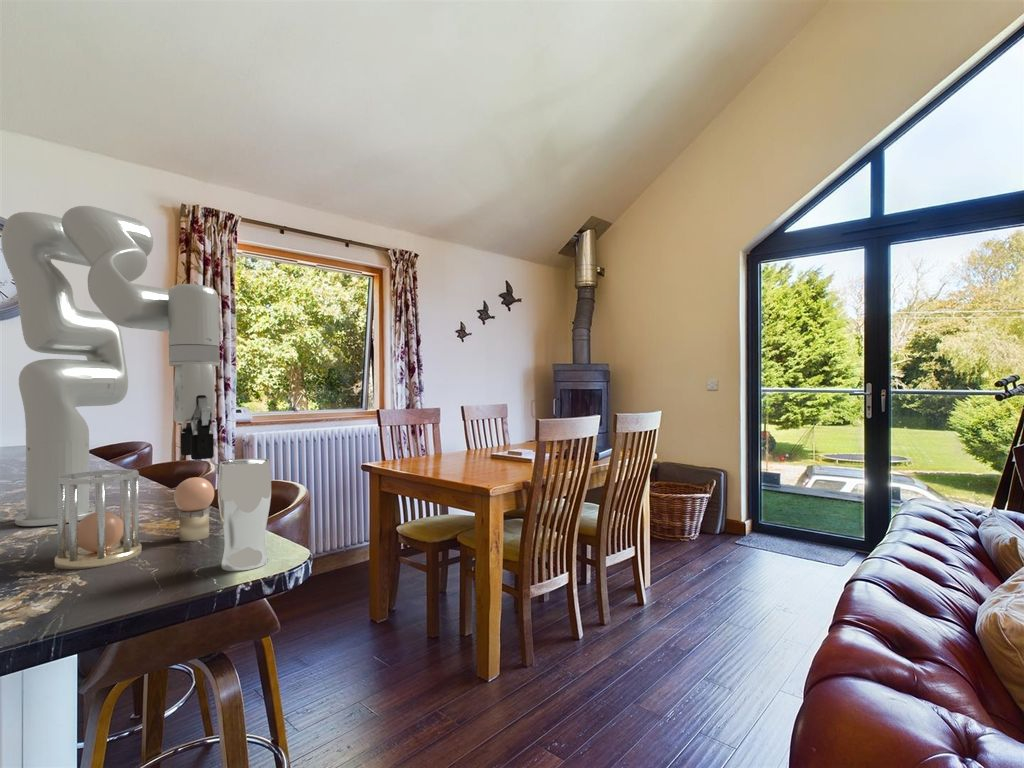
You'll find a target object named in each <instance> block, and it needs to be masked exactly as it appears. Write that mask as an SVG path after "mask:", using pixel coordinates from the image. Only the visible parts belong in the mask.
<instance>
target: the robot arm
mask: <svg viewBox="0 0 1024 768" xmlns="http://www.w3.org/2000/svg"><path fill="white" fill-rule="evenodd" d="M0 242H1V243H0V244H1V250H2V255H3V258H4V260H5V263H6V265H7V268H8V271H9V272H10V274H11V277H12V280H13V281H14V284H15V285H14V286H15V289H16V295H17V303H18V311H19V317H20V322H21V323H20V324H21V330H22V336H23V340H24V343H25V344H26V347H28V348H29V349H30V350H31V351H34V352H37V353H41V354H48V355H49V354H51V355H52V354H53V355H65V356H66V355H67V356H70V355H71V356H84V357H85V358H86V360H85V359H82V360H81V359H69V358H67V359H64V358H46V359H39V360H38V359H37V360H34V361H32V362H29V363H28V364H26V365H25V366H24V367H23V368H22V369H21V371H20V372H19V377H18V387H19V392H20V397H21V400H22V401H21V402H22V406H23V411H24V419H25V420H24V421H25V513H23V514H20V515H18V516H16V517H15V518H14V524H15V525H16V526H18V527H19V526H20V527H41V526H42V527H45V526H54V525H58V482H59V476H63V475H67V474H73V473H80V472H87V471H90V429H89V425H88V423H87V422H86V420H85V418H84V417H83V416H82V415H81V413H80V412H79V411H78V409H77V408H78V407H79V408H81V407H102V406H103V407H105V406H113V405H116V404H119V403H120V402H122V401H123V400H125V397H126V396H127V393H128V388H129V377H128V375H129V374H128V368H127V364H126V357H125V356H126V355H125V349H124V342H123V338H122V337H123V336H122V332H121V329H120V327H123V328H127V329H138V330H149V331H157V332H163V333H167V332H168V365H169V366H170V367H175V371H174V383H173V421H174V422H175V423H177V424H181V426H180V431H181V432H180V454H181V456H182V457H183V456H190V458H191V460H193V461H197V460H208V459H209V460H210V459H213V458H214V455H215V453H214V450H215V449H214V448H215V447H214V445H215V444H214V433H213V432H214V428H213V424H212V423H213V421H214V420H215V418H216V416H215V415H216V392H215V390H216V388H215V375H214V374H215V373H214V372H215V371H214V367H220V365H221V362H220V361H221V360H220V359H221V358H220V356H221V355H220V353H221V352H220V311H219V310H220V309H219V308H220V307H219V305H220V304H219V302H220V301H219V295H218V292H217V291H216V290H215V288H213V287H210V286H208V285H203V284H197V283H196V284H194V283H193V284H192V283H180V284H175V285H173V286H171V287H170V288H169V289H166V288H161V287H155V286H150V285H145V284H139V283H133V281H135V280H137V279H138V278H140V277H141V276H142V275H143V274H144V273H145V271H146V269H147V266H148V256H149V255H150V254H151V253H152V251H153V247H154V238H153V234H152V232H151V230H150V229H149V227H148V226H147V224H146V223H144V222H143V221H141V220H139V219H137V218H136V217H135V218H134V217H131V216H128V215H124V214H121V213H117V212H114V211H111V210H107V209H104V208H101V207H96V206H91V205H78V206H74V207H71V208H70V209H68V210H67V211H65V212H64V213H63V215H62V217H60V216H55V215H52V214H51V215H50V214H47V213H42V212H35V211H34V212H33V211H22V212H21V211H19V212H17V213H14V214H12V215H10V216H9V217H8V218H6V220H5V223H4V225H3V227H2V232H1V238H0ZM52 260H55V261H58V262H59V261H60V262H64V263H69V264H75V265H80V266H84V267H85V266H86V267H90V268H89V271H88V274H87V290H88V293H89V297H90V299H91V300H92V302H93V303H94V305H96V307H97V308H98V309H99V310H100V311H101V312H99V311H93V310H92V311H91V310H85V309H84V310H83V309H79V308H78V307H77V306H76V304H75V300H74V292H73V291H74V290H73V288H72V285H71V283H70V282H69V280H68V279H67V277H66V275H65V274H63V272H62V270H60V269H59V268H58V267H57V266H55V264H53V262H52ZM88 478H90V476H88V477H81V478H77V479H88ZM94 512H95V505H94V506H92V505H91V506H90V484H78V522H80V521H81V520H82V519H83V518H84V517H86V516H87V515H89V514H91V513H94ZM67 523H68V524H69V485H68V484H66V524H67Z"/></svg>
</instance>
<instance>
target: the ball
mask: <svg viewBox="0 0 1024 768" xmlns="http://www.w3.org/2000/svg"><path fill="white" fill-rule="evenodd" d="M122 536H123V521H122V519H121V518H120V515H117V514H116V513H114V512H113V511H108V510H107V511H106V510H105V550H108V549H110V548H112V547H113V546H115V545H116V544H117V543H118V542H119V541H120V539H121V538H122ZM78 547H81V548H82V549H84V550H86V551H90V552H97V512H94V513H91V514H89V515H87V516H86V517H84V518H83V519H82V520H79V521H78Z"/></svg>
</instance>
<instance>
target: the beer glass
mask: <svg viewBox="0 0 1024 768" xmlns="http://www.w3.org/2000/svg"><path fill="white" fill-rule="evenodd" d="M270 461H271V460H270V459H268V458H240V459H230V460H224V461H220V463H219V467H218V480H217V481H218V482H217V503H218V511H219V515H220V522H221V526H222V531H223V538H224V547H223V549H224V550H223V555H222V560H221V569H222V570H223V571H225V572H245V571H250V570H255V569H258V568H261V567H263V566H265V565H266V564H267V563H268V562H269V556H268V550H267V546H266V532H267V531H266V530H267V524H268V518H269V514H270V513H269V512H270V509H271V508H270V507H271V502H272V501H271V499H272V473H271V464H270Z"/></svg>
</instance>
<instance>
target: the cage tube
mask: <svg viewBox="0 0 1024 768" xmlns="http://www.w3.org/2000/svg"><path fill="white" fill-rule="evenodd" d="M139 472H140V471H138V469H129V468H127V469H126V468H123V469H122V468H120V469H102V470H101V469H100V470H99V469H98V470H89V471H87V472H80V473H73V474H67V475H63V476H59V482H58V524H57V555H56V556H55V557H54V567H55V568H56V569H59V570H60V569H61V570H85V569H94V568H99V567H106V566H110V565H116V564H120V563H122V562H125V561H129V560H132V559H134V558H136V557H138V556H139V555H141V554H142V544H141V543H140V542H139V541H140V539H139V538H140V537H139V536H140V535H139V533H140V532H139V531H140V530H139V525H140V522H139V519H140V515H139V514H140V513H139V510H140V509H139V508H140V507H139V506H140V505H139V503H140V502H139V500H140V499H139V497H140V495H139V494H140V491H139V487H140V485H139V484H140V479H139V476H140V473H139ZM107 475H113V476H107ZM88 476H89V478H88V479H77V478H81V477H88ZM103 476H104V477H103ZM90 477H94V478H90ZM113 482H119V517H120V518H121V519H122V521H123V536H122V538H121V539H120V541H119V542H118V543H117V544H116V545H115V546H113V547H112V548H110V549H108V550H105V511H106V483H113ZM66 484H68V485H69V523H68V547H69V548H68V550H67V523H66ZM78 484H89V485H94V507H95V512H97V552H90V551H86V550H84V549H82V548H81V547H79V546H78V523H79V521H78Z"/></svg>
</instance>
